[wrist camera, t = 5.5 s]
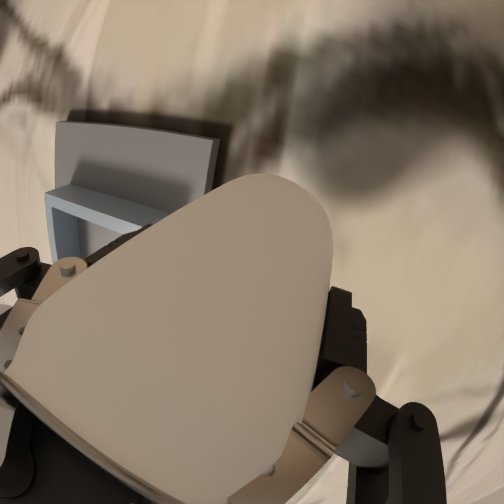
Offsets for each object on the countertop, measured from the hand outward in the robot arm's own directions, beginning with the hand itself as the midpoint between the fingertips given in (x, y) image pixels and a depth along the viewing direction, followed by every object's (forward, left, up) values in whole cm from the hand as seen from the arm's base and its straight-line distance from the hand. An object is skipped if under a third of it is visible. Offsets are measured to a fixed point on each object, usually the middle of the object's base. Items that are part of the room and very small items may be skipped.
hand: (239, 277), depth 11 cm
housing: (+8, -13, -9) cm, 17 cm away
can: (0, 0, -4) cm, 4 cm away
